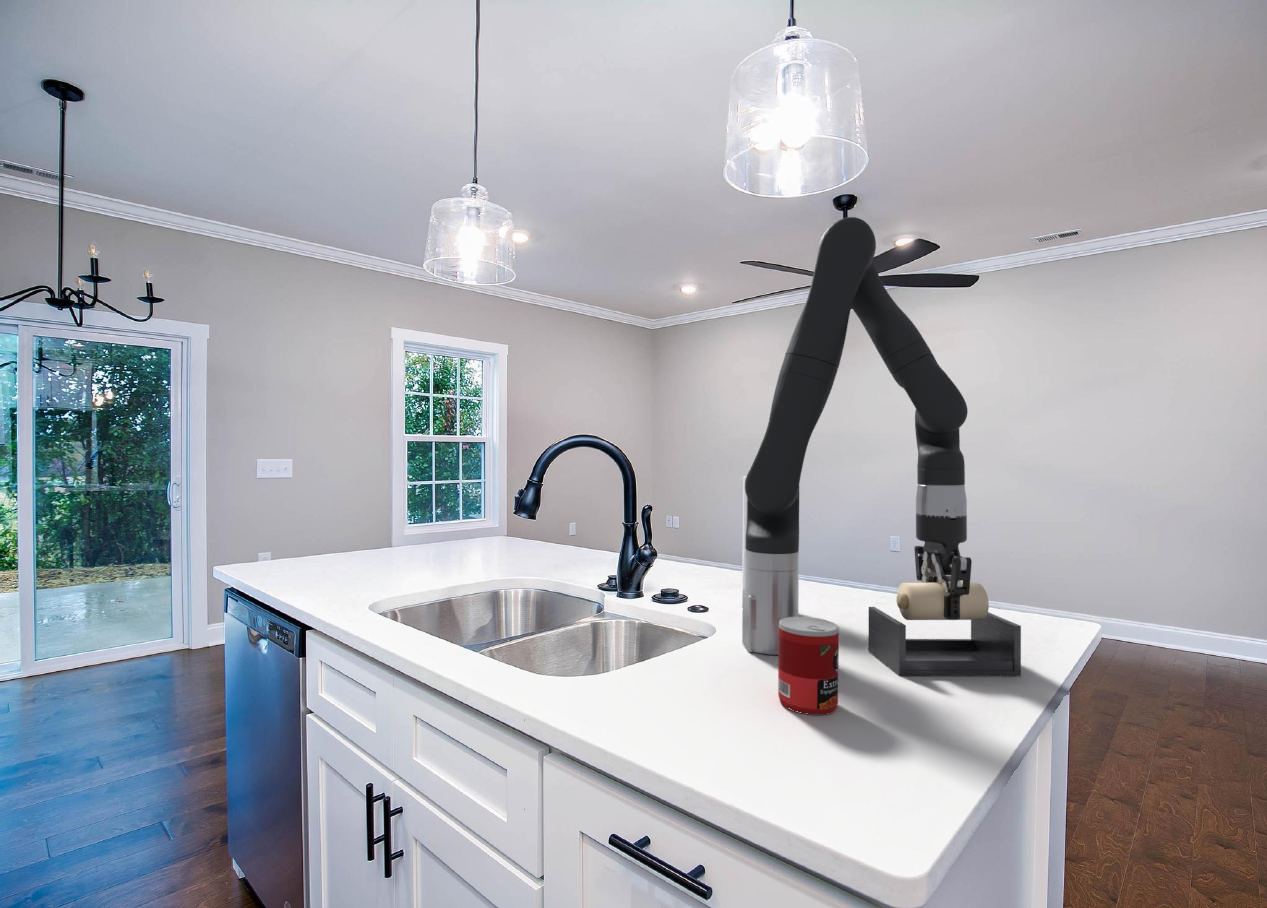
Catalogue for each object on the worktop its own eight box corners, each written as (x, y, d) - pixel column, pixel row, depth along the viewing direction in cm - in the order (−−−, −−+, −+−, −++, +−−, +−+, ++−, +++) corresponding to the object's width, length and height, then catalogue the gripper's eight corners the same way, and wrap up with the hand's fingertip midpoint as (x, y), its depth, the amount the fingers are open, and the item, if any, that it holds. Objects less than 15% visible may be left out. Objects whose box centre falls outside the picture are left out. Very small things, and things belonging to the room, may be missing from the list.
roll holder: (899, 676, 95) (899, 625, 95) (868, 651, 107) (868, 606, 107) (1020, 676, 96) (1020, 626, 96) (976, 652, 108) (976, 607, 108)
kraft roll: (907, 625, 99) (908, 588, 98) (891, 613, 105) (892, 578, 104) (994, 624, 99) (995, 587, 99) (973, 613, 105) (974, 578, 105)
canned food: (830, 721, 79) (830, 634, 79) (769, 707, 83) (770, 625, 83) (844, 701, 85) (845, 621, 85) (787, 689, 89) (788, 613, 89)
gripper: (898, 508, 109) (899, 604, 109) (940, 516, 94) (941, 626, 94) (941, 508, 109) (941, 604, 109) (989, 516, 95) (989, 626, 94)
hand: (941, 613), depth 101 cm, fingers closed on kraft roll, 6 cm apart
